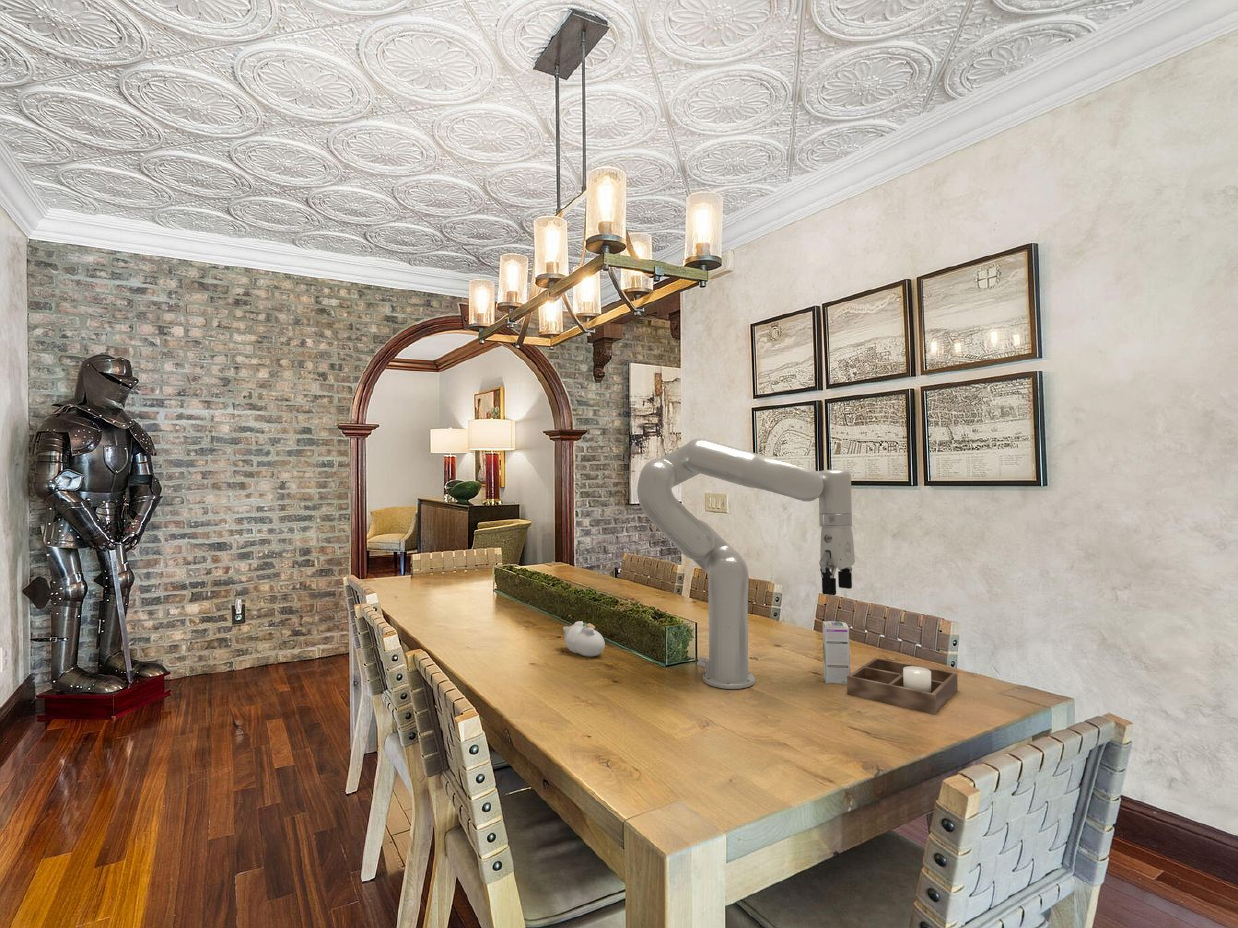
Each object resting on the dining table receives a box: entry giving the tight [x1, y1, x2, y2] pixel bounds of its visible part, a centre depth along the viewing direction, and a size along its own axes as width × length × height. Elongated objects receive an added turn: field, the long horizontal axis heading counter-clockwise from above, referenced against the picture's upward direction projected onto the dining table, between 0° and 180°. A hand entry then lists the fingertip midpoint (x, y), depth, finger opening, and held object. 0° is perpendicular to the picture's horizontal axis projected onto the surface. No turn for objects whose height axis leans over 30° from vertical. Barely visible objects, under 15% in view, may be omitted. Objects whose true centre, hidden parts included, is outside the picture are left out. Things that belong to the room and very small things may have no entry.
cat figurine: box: [562, 620, 606, 658], centre depth 180 cm, size 10×8×15 cm
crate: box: [846, 657, 959, 716], centre depth 145 cm, size 18×18×5 cm
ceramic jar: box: [903, 666, 931, 693], centre depth 139 cm, size 6×6×7 cm
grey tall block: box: [822, 620, 851, 685], centre depth 154 cm, size 6×6×14 cm
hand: (837, 591), depth 154 cm, fingers open, 9 cm apart
